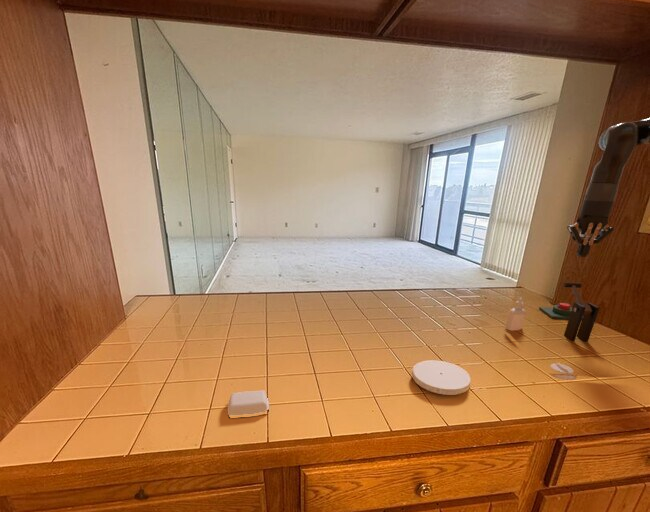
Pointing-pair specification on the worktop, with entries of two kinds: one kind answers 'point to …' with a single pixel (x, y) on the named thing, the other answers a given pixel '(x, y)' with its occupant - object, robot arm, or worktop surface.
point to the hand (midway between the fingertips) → (581, 256)
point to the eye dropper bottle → (516, 317)
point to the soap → (248, 402)
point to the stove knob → (563, 371)
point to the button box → (556, 312)
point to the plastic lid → (441, 377)
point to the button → (564, 306)
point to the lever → (578, 297)
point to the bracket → (576, 320)
